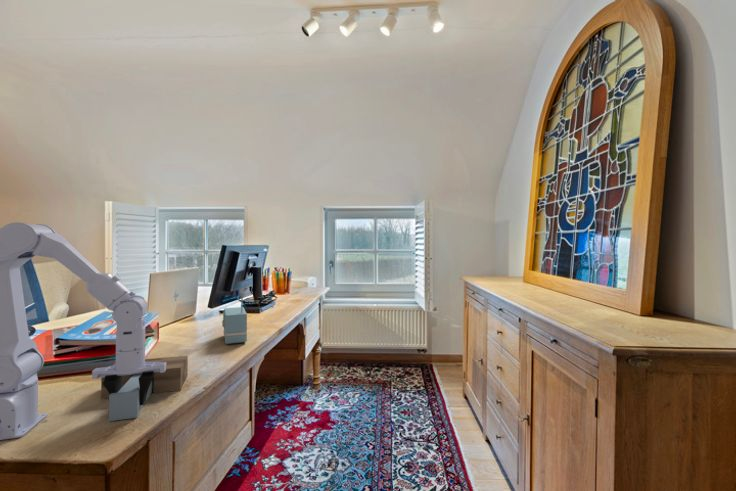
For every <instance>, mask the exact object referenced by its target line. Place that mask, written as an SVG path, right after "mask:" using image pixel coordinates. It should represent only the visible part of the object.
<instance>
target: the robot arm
mask: <svg viewBox="0 0 736 491" xmlns="http://www.w3.org/2000/svg"><path fill="white" fill-rule="evenodd" d="M35 256H37V257H38V256H39V257H44V258H49V259H54V260H56V261H57V262H58V263H60V264H61V265H63V266H64V267H65V268H66V269H68V270H69V271H70V272H72V273H73V275H75V276H76V277H78V278H80V279H81V280H82V281H83V282H85V283H86V292H87V293H88V294H89V295H91V296H92V297H93V298H94V300H96V301H97V302H99V303H101V305H102V306H103V307H105V308H106V309H107V310H108V311H111V316H112V318H113V319H112V320H114V321H115V323H116V331H115V363H116V365H114V366H112V365H110V366H109V365H108V366H105V367H104V366H103V367H96V368H94V369H93V370H92V371H91V375H92V376H91V380H98V379H101V378H102V377H105V379H104V381H103V386H104V387H105V388H106V389H107V391H108V392H109V394H111V393H117V392H118V391H119V390H120V389H121V385H122V377H123V375H133V374H142V375H141V376H140V377H139V386H140V401H139V402H140V405H143V404H144V405H145V404H146V402H147V400H146V396H147V392H148V389H149V386H150V384H151V381H152V379H153V377H154V375H155V373H156V372H159V373H163V372H165V371H166V362H145V359H146V325H145V324H146V320H145V319H146V317H145V315H146V314H147V312H148V309H149V306H148V303H147V301H146V299H145V298H144V297H143V296H142V295H137V292H135V291H134V290H132V291H131V290H130V289H129V288H128V287H127V286H125V285H124V284H123V283H122V282H121V278H120V276H119V275H117V274H116V275H112V273H105V272H103V273H102V272H100V271H99V270H98V269H97V268H96V267H95V266H94V265H93V264H92V263H91V262H90V261H89V260H88V259H87V258H85V257H84V255H82V254H81V253H80V252H79V251H78V250H77V249H76V248H75V247H74V246H73V245H72V244H71V243H70V242H69V241H68V240H67V239H66V238H65V237H64V236H63V235H62V234H60V233H58V232H56V231H55V230H54V228H53V227H51V226H49V225H46V224H44V223H43V224H41V223H36V224H33V223H25V222H21V221H20V222H17V221H16V222H15V221H14V222H9V223H7V224H5V225H3V226H2V227H0V441H4V440H9V439H10V440H11V439H19V438H21V437H23V436H25V435H26V434H27V433H28V432H29V431H31V430H32V429H33V428H34V427H35V426H37V425H38V423H40V422H41V421H42V420H44V419H45V418H46V417H48V413H47V412H44V413H39V378H38V373H39V371H41V369H42V368H43V366H44V364H45V359H44V356H43V354H42V353H41V352H40V351H39V350H38V346H37V345H38V344H37V343H36V341H35V340H33V339H32V338H31V337H30V334H29V327H28V319H27V312H26V305H25V297H24V291H23V283H22V277H21V276H22V275H21V274H22V273H21V267H22V266H24V265H25V264H26V263H27V262H29V261H30V260H31V259H33V258H34V257H35ZM145 401H146V402H145ZM144 405H143V406H144Z"/></svg>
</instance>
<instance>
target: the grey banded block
mask: <svg viewBox="0 0 736 491" xmlns="http://www.w3.org/2000/svg"><path fill="white" fill-rule="evenodd" d="M243 298H244V297H243V293H241V300H240V301H241V302H240V303H241V306H239V307H238V306H237V307H225V308H223V311H222V313H223V314H222V320H221V323H222V324H221V326H222V327H223V336H224V343H225V344H226V345H235V344H242V343H247V340H248V338H247V337H248V335H247V334H248V332H247V331H248V313H247V312H246V309H245V308H244V306H243V303H244V302H243Z"/></svg>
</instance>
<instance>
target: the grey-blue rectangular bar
mask: <svg viewBox="0 0 736 491" xmlns="http://www.w3.org/2000/svg"><path fill="white" fill-rule="evenodd" d="M141 375H142V374H134V375H133V376H132V377H131V378H130V379H129V380H128V381H127V383H126V384H125V385H124V386H123V387H122V388H121V389H120V390H119V391H118V392H117V393H111V394H110V395H109V398H108V399H109V400H108V402H109V403H108V404H109V406H108V407H109V409H108V412H109V413H108V415H109V416H108V421H109V422H113V421H114V422H115V421H120V420H130V419H137V418H138V417H139V413H140V411H141V410H142V408H143V406H144V405H145V403H146V402H147V400H148V399H149V398H150V396H151V395H152V394H153V392H154V377H153V379H152V381H151V384H150V386H149V389H148V392H147V396H146V401H145V403H144V404H143V405H140V402H139V401H140V386H139V377H140V376H141Z"/></svg>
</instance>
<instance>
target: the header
mask: <svg viewBox="0 0 736 491" xmlns="http://www.w3.org/2000/svg"><path fill="white" fill-rule="evenodd" d="M145 362H166V371H165V372H163V373H159V372H156V373H155V375H154V390H153V392H152V394H160V393H167V392H169V393H170V392H176V391H182V388H183V386H184V384H185V382H186V380H187V379H188V371H189V370H188V368H189V367H188V365H189V364H188V355H181V356H180V355H178V356H168V357H159V358H158V357H157V358H156V357H155V358H145ZM114 365H116V362H115V363H113V364H112V365H111V366H114ZM133 375H134V374H133ZM133 375H123V377H122V385H121V388H122V387H123V386H124V385H125V384H126V383H127V381H128V380H129V379H130V378H131V377H132V376H133ZM104 379H105V377H102V378H100V380H101V381H100V385H101V387H100V388H101V389H100V391H101V392H100V394H101V395H100V398H101V400H105V399H106V400H107V399H109V395H110V394H109V392H108V391H107V389H106V388H105V387H104V386H103V381H104Z"/></svg>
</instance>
